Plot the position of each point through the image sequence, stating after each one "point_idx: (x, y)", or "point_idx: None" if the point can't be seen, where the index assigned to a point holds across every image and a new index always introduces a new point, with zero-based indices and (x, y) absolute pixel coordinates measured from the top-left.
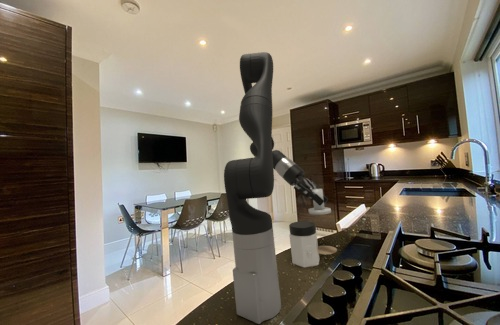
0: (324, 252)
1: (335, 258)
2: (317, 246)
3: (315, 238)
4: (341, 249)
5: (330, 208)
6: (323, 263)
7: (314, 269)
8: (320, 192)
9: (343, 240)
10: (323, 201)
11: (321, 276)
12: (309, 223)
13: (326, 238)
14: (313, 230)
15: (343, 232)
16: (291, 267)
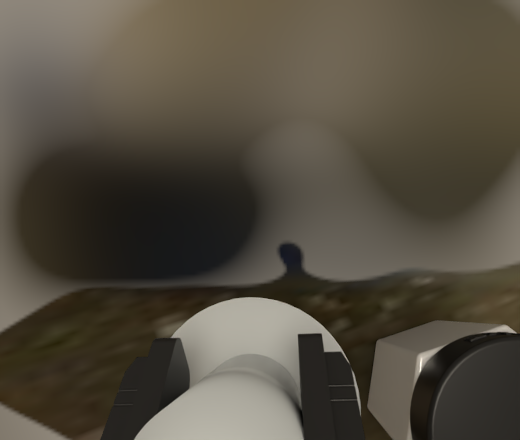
0: None
1: (325, 285)
2: (420, 337)
3: (491, 324)
4: (215, 293)
5: (211, 308)
6: (397, 313)
7: None
8: (269, 398)
9: (90, 321)
10: (318, 333)
11: (505, 278)
12: (486, 391)
13: (82, 419)
14: (517, 334)
15: None
16: None
